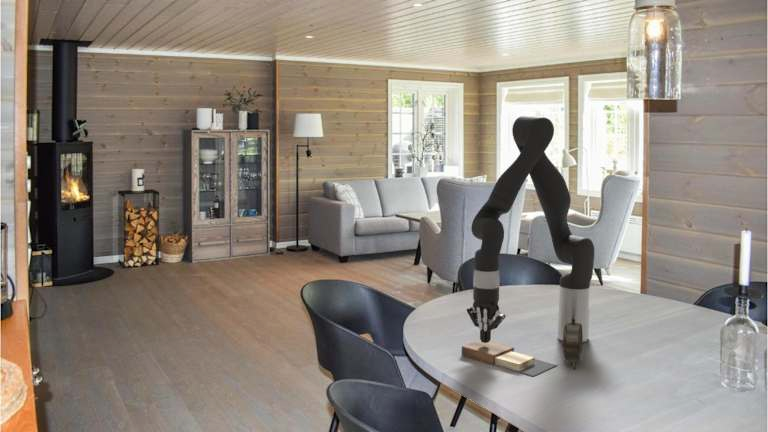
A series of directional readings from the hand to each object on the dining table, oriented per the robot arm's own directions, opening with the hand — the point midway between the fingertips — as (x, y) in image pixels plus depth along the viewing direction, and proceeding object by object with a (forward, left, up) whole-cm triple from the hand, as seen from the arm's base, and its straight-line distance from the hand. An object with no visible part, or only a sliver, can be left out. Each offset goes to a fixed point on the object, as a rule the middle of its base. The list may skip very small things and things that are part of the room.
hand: (485, 341), depth 207 cm
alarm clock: (-12, +22, -4) cm, 25 cm away
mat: (-1, +13, -4) cm, 14 cm away
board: (0, +1, -4) cm, 4 cm away
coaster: (+1, +11, -4) cm, 12 cm away
